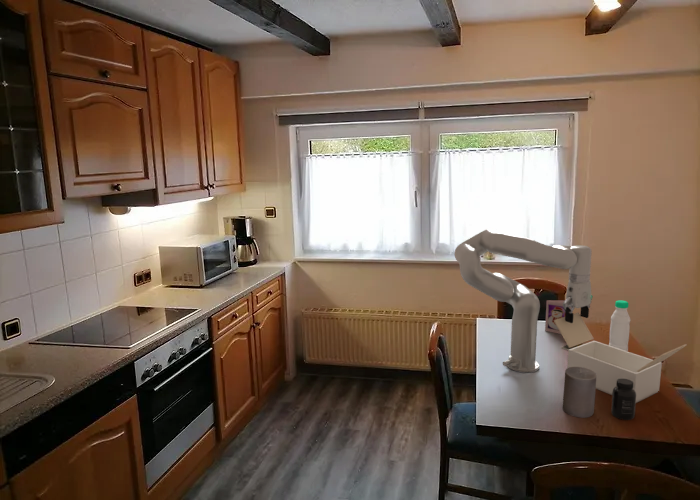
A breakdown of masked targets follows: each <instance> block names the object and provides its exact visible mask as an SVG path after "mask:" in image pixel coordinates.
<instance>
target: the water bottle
mask: <svg viewBox="0 0 700 500" xmlns="http://www.w3.org/2000/svg"><path fill="white" fill-rule="evenodd" d="M629 306H630V305H629V302H628V301H627V300H622V299H621V300H616V301H615V304H614V307H615V309H614V311H613V313H612V315H611V316H610V325H609V343H608V345H609V346H612V347H615V348H618V349H621V350H624V351H627V352H629V340H630V330H631V329H630V323H631V317H630V315H629V312H628V309H629Z"/></svg>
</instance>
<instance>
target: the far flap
mask: <svg viewBox="0 0 700 500" xmlns="http://www.w3.org/2000/svg"><path fill="white" fill-rule="evenodd" d="M580 314H581V313H579V312H576V313H573V323H569V322H566V321H565V317H563V318H559V319H556V320H554V322H555V324H556V326H557V327H558V329H559V331H560V333H561V334H560V335H561V336H562V337H563V340H564V341H565V343H566V345H568V347H569V348H570V347H573V346H576V345H578V344H581V343H583V344H585V343H588V342H591V341H593V340H594V339H595V338H594V336H593V335H592V333H591V331H590V330H589V328H588V326H587V325H586V323H585V321H584V319H583V317H581V316H580Z"/></svg>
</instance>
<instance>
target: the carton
mask: <svg viewBox="0 0 700 500" xmlns="http://www.w3.org/2000/svg"><path fill="white" fill-rule="evenodd" d="M567 351H568V353H567V354H568V355H567V365H566V366H567V368H569V367H584V368H587V369H590V370H592V371H594V372H595V373H596V375H597V377H596V390H598V391H601V392H603V393H606V394H608V395H611V396H612V394H613V389H614V387H616V384H617V380H618V379H620V378H624V379H629V380H631V381H633V389H634V390H635V392H636V404H637V403H639V402H641V401H643V400H645V399H647V398H649V397H651V396H654V395H655V394H657V393H659V392H660V386H661V374H662V365H663V363H662V362H660V363H657V364H655V365H653V366H651V367H649V368H646V369H644V370H642V371H640V372H637V371H638V370H639V369H641V368H642V367H644V366H645V365H647V364H648V363H650V362H651V361H653V360H654V359H651V358H649V357H646V356H643V355H639V354H636V353H634V352H629V351H624V350H621V349H618V348H615V347H612V346H609V344H606V343H603V342H600V341H597V340H590V341H588V342H585V343H583V345H580V346H577V347H575V348H572V349H569V350H567ZM567 368H566V369H567ZM658 391H659V392H658Z"/></svg>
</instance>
